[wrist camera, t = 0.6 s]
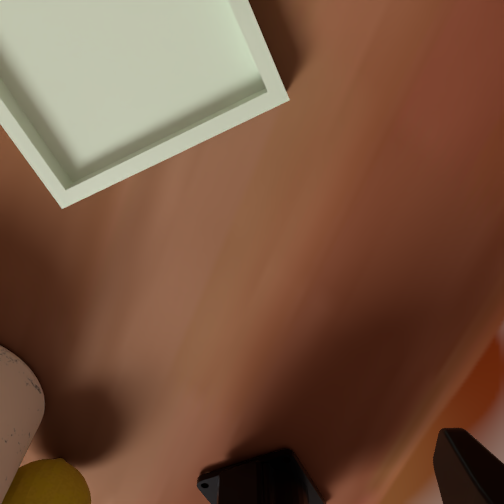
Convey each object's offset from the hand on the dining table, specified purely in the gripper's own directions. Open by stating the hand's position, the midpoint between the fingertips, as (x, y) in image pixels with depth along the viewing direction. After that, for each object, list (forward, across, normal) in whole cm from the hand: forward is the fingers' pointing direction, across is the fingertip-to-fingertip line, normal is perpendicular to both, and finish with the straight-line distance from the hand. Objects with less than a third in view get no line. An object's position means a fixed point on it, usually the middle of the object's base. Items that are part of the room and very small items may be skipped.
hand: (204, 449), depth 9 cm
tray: (+13, +4, -7) cm, 15 cm away
